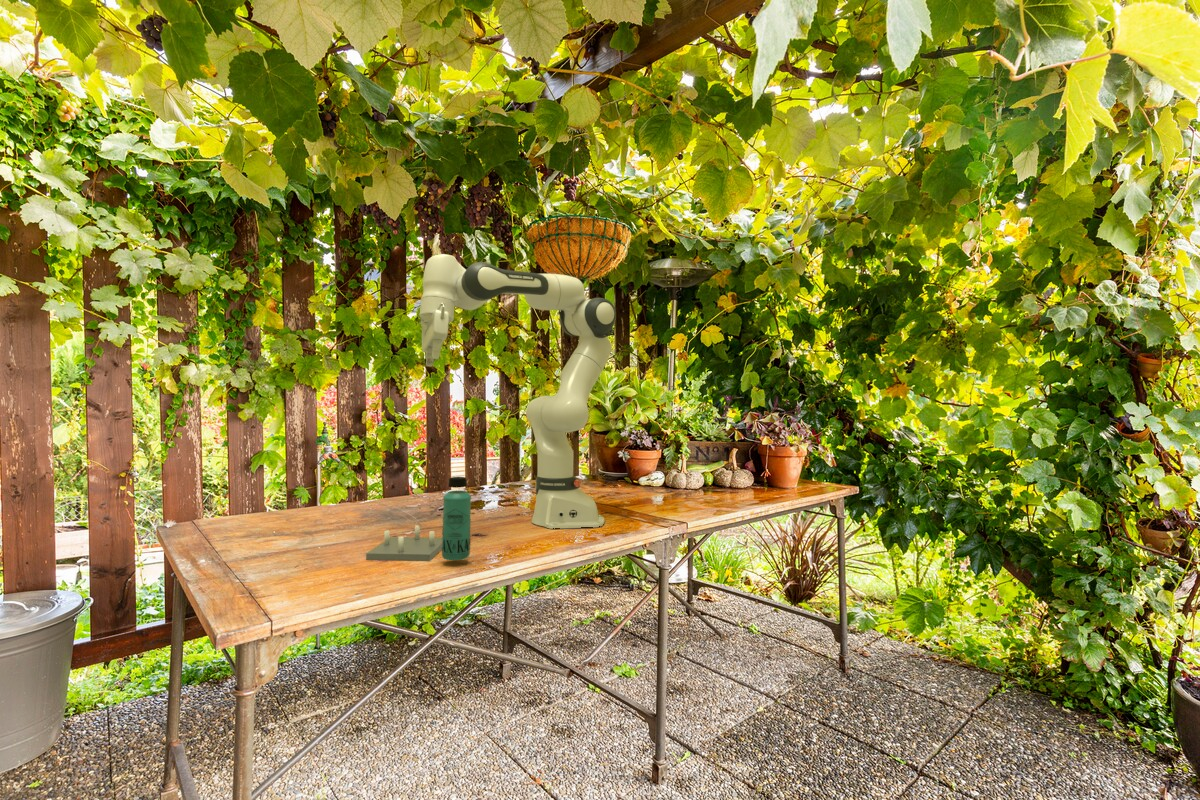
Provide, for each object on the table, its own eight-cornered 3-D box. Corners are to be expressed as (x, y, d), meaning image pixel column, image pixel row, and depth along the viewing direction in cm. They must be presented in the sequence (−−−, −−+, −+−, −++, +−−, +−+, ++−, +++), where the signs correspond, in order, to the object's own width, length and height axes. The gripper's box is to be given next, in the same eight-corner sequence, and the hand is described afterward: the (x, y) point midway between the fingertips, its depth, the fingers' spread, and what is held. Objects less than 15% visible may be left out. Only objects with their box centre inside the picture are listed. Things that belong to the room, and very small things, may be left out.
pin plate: (448, 543, 145) (448, 524, 144) (429, 560, 130) (429, 539, 129) (390, 542, 145) (391, 523, 145) (366, 559, 130) (366, 538, 130)
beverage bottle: (439, 560, 130) (440, 475, 130) (467, 557, 133) (468, 474, 133) (443, 568, 124) (444, 479, 124) (473, 565, 127) (474, 478, 127)
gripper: (456, 303, 141) (452, 355, 139) (442, 324, 159) (438, 370, 157) (431, 298, 139) (426, 352, 136) (419, 320, 157) (414, 367, 154)
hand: (432, 362), depth 147 cm, fingers open, 8 cm apart
